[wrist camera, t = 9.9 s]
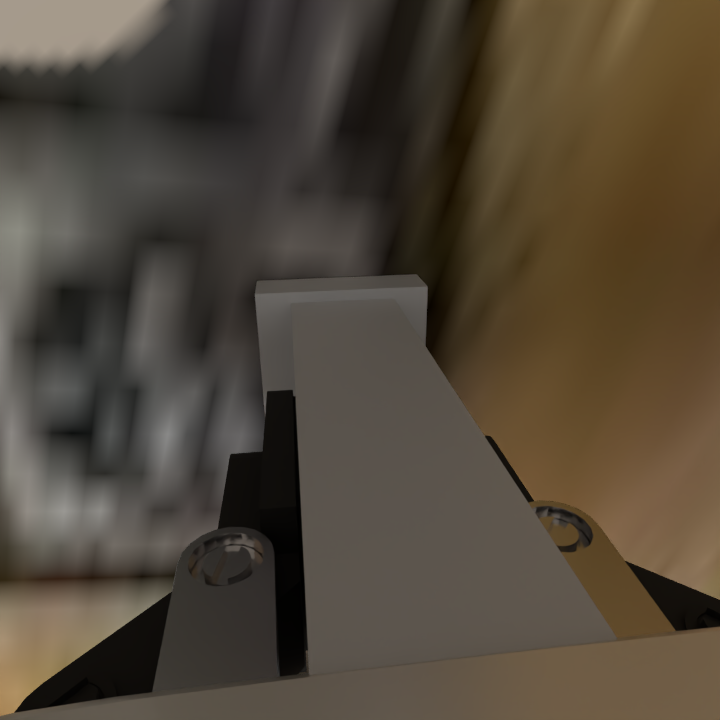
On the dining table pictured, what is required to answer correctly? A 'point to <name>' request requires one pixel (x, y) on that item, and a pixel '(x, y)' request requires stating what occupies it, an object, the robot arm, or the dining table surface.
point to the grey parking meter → (404, 490)
